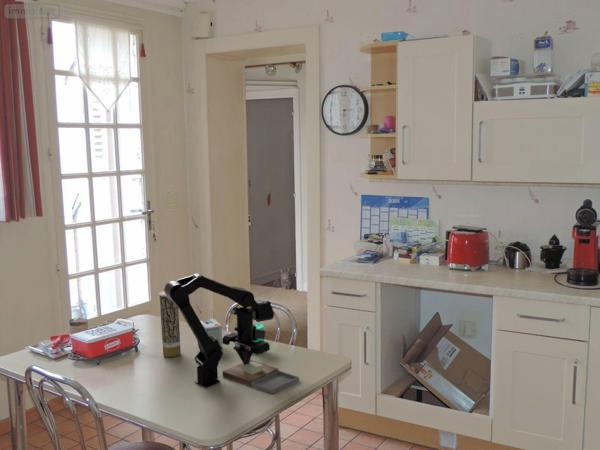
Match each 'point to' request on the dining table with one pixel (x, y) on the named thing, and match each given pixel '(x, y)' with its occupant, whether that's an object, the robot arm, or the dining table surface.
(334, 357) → the dining table surface
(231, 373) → the walnut board
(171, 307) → the brown bark cylinder
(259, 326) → the candle
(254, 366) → the tile
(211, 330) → the light bulb box
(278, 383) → the tray
